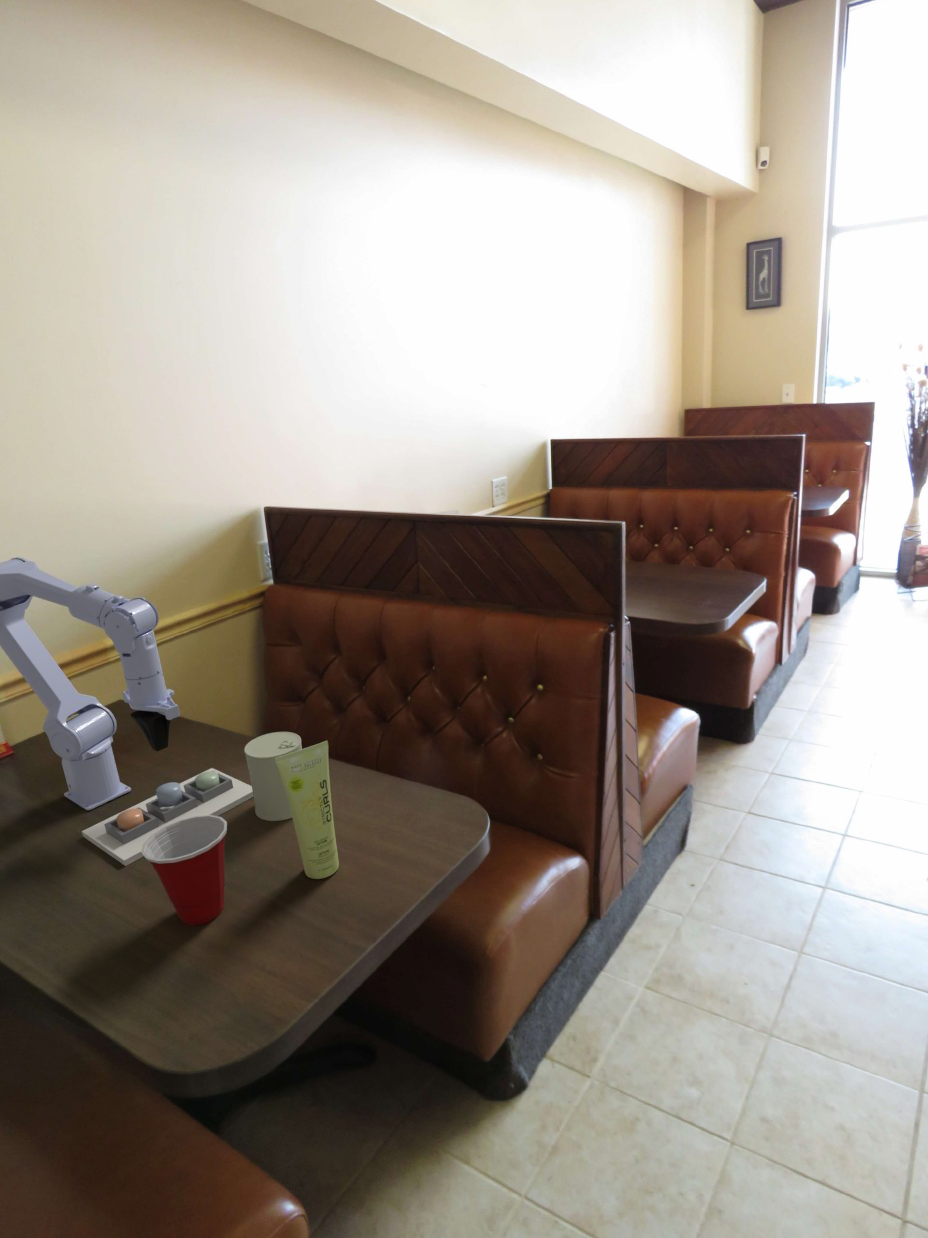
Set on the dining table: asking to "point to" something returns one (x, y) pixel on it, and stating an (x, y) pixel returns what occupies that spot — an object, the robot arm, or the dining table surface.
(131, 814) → the peach button
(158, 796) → the slate button
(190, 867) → the plastic cup
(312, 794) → the tube
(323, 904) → the dining table surface
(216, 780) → the sage button
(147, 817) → the console
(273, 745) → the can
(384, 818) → the dining table surface
